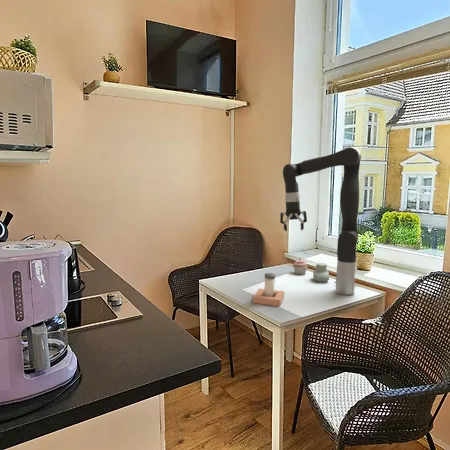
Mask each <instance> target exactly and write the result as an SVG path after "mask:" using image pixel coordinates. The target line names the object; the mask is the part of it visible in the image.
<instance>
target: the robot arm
mask: <svg viewBox="0 0 450 450" xmlns="http://www.w3.org/2000/svg"><path fill="white" fill-rule="evenodd" d="M361 159H362V154H361V151H360V150H359V149H358V148H356V147H354V146H353V147H352V146H348V147H345V148H344V149H341V150H338V151H336V152H334V153H331V154H328V155H324V156H319V157H313V158H310V159H307V160H303V161H301V162H298V163H294V164H291V163H287V164H285V165H284V166H283V167H282V168H283V169H282V177H283V181H284V185H285V200H284V201H285V212H283V211H282V212H280V214H279V215H280V216H279V218H280V220H279V221H280V222H279V223H280V224H283V230H284V231H285V232H287V231H288V225H287V223H288V222H289V221H291V220H292V221H293V220H295V221H297V220H298V221H299V222H300V231H303V230H304V228H305V226H304V225H305V223H307V221H308V219H307V218H308V216H307V211H306V210H303V211H302V210H301V203H300V193H299V192H300V191H299V184H298V183H299V182H298V181H297V177H300V176H303V175H306V174H307V175H308V174H312V173H316V172H321V171H323V170H326V169H328V168H333V167H339V166H343V179H342V183H341V186H340V187H341V188H340V193H339V195H340V196H339V206H340V207H339V208H340V212H341V219H342V222H341V223H342V224H341V231H340V234H339V235H338V237H337V244H336V245H337V247H336V249H337V250H336V256H337V262H336V263H337V264H336V275H335V276H336V277H335V292H336V293H337V294H340V295H346V296H350V295H355V284H356V283H355V282H356V263H357V245H358V244H357V243H358V241H359V234H358V215H359V205H360V178H359V175H360V164H361ZM301 215H302V216H303V218H301V217H300V216H301ZM285 216H286V218H285V220H284V217H285Z"/></svg>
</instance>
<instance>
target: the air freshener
mask: <svg viewBox="0 0 450 450" xmlns="http://www.w3.org/2000/svg"><path fill="white" fill-rule="evenodd" d="M327 268H328V265H327V263H326V262H317V263H316V265H315V270H313V274H312V275H313V276H312V278H313V281H316V282H319V283H324V282H328V281H329V280H330V273H329V271H328V270H327Z"/></svg>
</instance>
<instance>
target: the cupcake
mask: <svg viewBox="0 0 450 450" xmlns="http://www.w3.org/2000/svg"><path fill="white" fill-rule="evenodd" d="M308 267H309V266H308V265H307V262H306V261H305V260H304V258H301V257H299V259H296V260H295V262H293V265H292V268H293V270H294V274H296V275H298V276H299V275H300V276H303V275H306V273H307V269H308Z"/></svg>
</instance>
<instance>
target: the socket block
mask: <svg viewBox="0 0 450 450" xmlns="http://www.w3.org/2000/svg"><path fill="white" fill-rule="evenodd" d="M264 291H265V288H258V289H257V291H256V292H255V294H254V296H253V304H257V303H259V304H258V305H266V304H267V306H275V307H281V305H282V302H283V300H284V298H285V290H276V289H274V297H269V296H264Z"/></svg>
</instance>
